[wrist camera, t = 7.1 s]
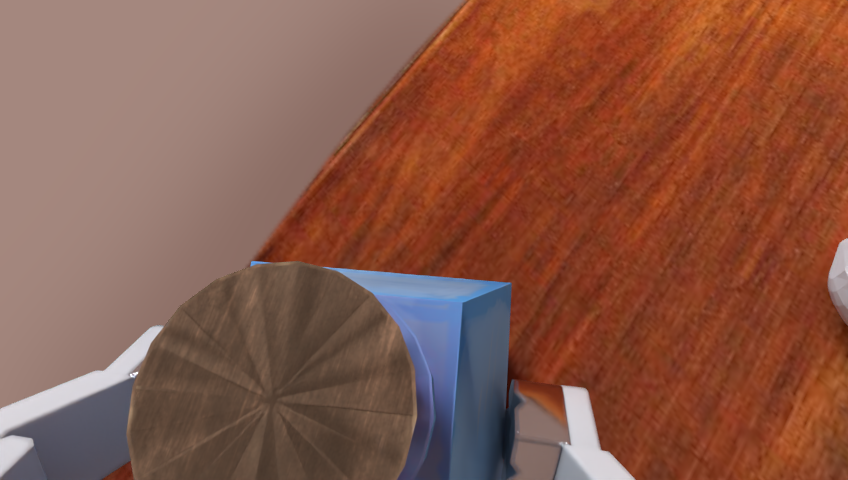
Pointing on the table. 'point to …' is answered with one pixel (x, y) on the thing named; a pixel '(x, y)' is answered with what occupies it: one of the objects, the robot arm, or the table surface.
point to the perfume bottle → (326, 379)
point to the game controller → (840, 281)
